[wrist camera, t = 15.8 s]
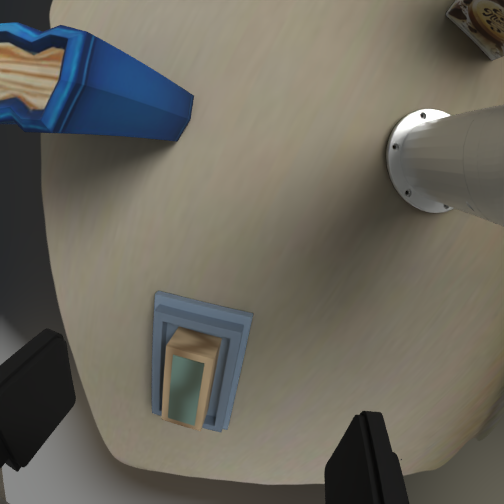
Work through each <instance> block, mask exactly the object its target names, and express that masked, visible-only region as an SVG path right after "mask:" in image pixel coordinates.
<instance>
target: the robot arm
mask: <svg viewBox="0 0 504 504" xmlns="http://www.w3.org/2000/svg"><path fill="white" fill-rule="evenodd" d="M420 115H422V118H421V117H420ZM393 145H394V146H395V149H393V148H392V146H393ZM386 161H387V169H388V172H389V176H390V179H391V181H392V183H393V185H394V187H395V189H396V190H397V192H398V193H399V195H400V196H401V197H402V198H403V199H404V200H405V201H406V202H407V203H409V204H410V205H412V206H413V207H415V208H417V209H419V210H422V211H425V212H429V213H442V212H447V211H449V210H452V209H454V208H456V209H458V210H461V211H464V212H467V213H469V214H472V215H475V216H477V217H480V218H483V219H485V220H488V221H490V222H493V223H495V224H499V225H501V226H504V105H499V106H494V107H489V108H484V109H479V110H474V111H469V112H465V113H460V114H456V115H452V116H451V115H450V114H448V113H446V112H444V111H440V110H437V109H428V108H427V109H420V110H417V111H414V112H411V113H410V114H408V115H406V116H404V117H403V118H402V119H401V120H400V121H399V122H398V123H397V124H396V126H395V127H394V129H393V130H392V133H391V135H390V137H389V140H388V145H387V152H386ZM406 190H407V192H408V193H407V194H405V191H406ZM75 399H76V396H75V392H74V386H73V381H72V376H71V370H70V364H69V358H68V351H67V344H66V341H65V340H64V339H63V336H62V335H61V334H59V333H57V332H55V331H52V330H50V329H45V330H43V331H42V332H41V333H39V334H38V335H37V336H36V337H34V338H33V339H32V340H31V341H29V342H28V343H27V344H26V345H24V346H23V347H22V348H21V349H19V350H18V351H17V352H16V353H15V354H13V355H12V356H11V357H10V358H9V359H7V360H6V361H5V362H4V363H3V364H1V365H0V504H9V503H8V502H6V497H5V490H4V483H3V475H2V466H3V465H4V463H6V464H7V465H8V466H10V467H12V468H13V469H14V470H16V471H19V469H20V468H21V467H25V466H26V465H27V464H28V463H29V462H30V460H31V459H32V458H33V457H34V455H35V454H36V453H37V451H38V450H39V449H40V448H41V446H42V445H43V444H44V442H45V441H46V440H47V438H48V437H49V436H50V435H51V433H52V432H53V431H54V430H55V428H56V427H57V426H58V425H59V423H60V422H61V421H62V420H63V418H64V417H65V416H66V415H67V413H68V412H69V411H70V410H71V408H72V407H73V406H74V404H75ZM325 501H326V504H409V501H408V496H407V492H406V488H405V484H404V479H403V475H402V471H401V467H400V463H399V459H398V457H397V455H396V454H395V453H394V452H392V449H391V445H390V441H389V437H388V433H387V430H386V426H385V422H384V419H383V415H382V413H380V412H371V411H362V412H361V413H360V415H355V416H354V418H353V420H352V421H351V423H350V425H349V427H348V429H347V430H346V432H345V434H344V436H343V437H342V439H341V441H340V443H339V444H338V446H337V448H336V449H335V451H334V453H333V454H332V456H331V458H330V459H329V461H328V462H327V464H326V467H325Z"/></svg>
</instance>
